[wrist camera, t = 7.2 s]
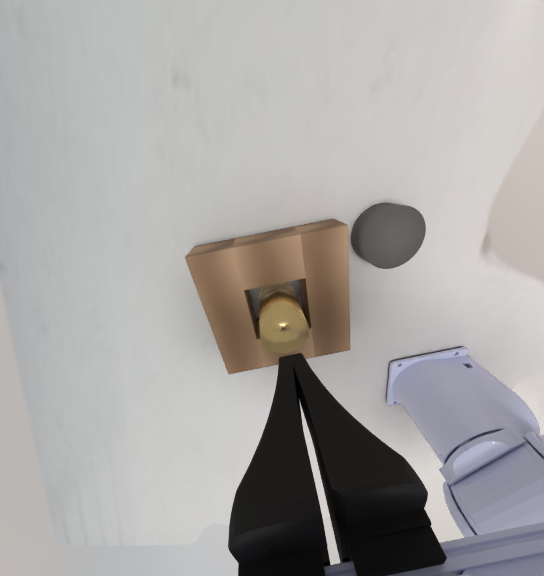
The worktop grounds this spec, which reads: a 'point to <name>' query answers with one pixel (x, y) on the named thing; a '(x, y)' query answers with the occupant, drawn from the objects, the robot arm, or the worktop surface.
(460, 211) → the worktop surface
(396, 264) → the flat gray river rock
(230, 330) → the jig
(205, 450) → the worktop surface
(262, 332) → the brass cylinder plug
